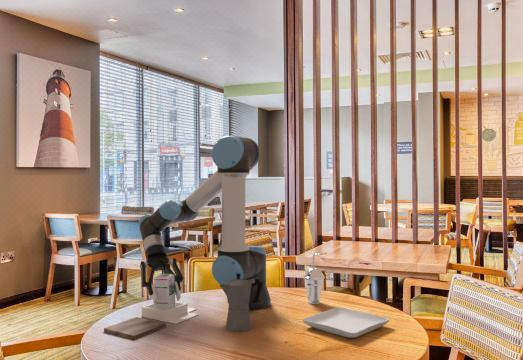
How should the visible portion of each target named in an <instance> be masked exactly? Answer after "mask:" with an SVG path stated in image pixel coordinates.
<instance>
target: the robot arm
mask: <svg viewBox="0 0 523 360" xmlns="http://www.w3.org/2000/svg"><path fill="white" fill-rule="evenodd" d="M260 157H261V149H260V146H259V145H258V143H257V142H256V141H255V140H253V139H251V138H250V137H249V138H248V137H242V136H237V135H225V136H222V137H221V138H218V140H217V141H216V142H215V143H214V145H213V146H212V149H211V159H212V162H213V163H214V165H215V166H216V167H217V170H215V172H214V173H213V174H211V176H210V177H208V178H207V179H206V180H205V181H204V182H203V183H202V184H201V185H199V186H198V187H197V188H196V189H195V190H194V191H193V192H192V193H190V194H189V195H188V196H187V197H186V198H185V199H184V200H183V201H182V202H181V203H178V202H177V201H175V200H172V199H167V200H166V201H164V202H163V203H162V204H160V206H159V207H157V209H156V210H155V212H153V213H146V214H145V215H142V216H141V217H140V218H139V220H138V225H139V226H138V227H139V231H140V236H141V239H142V243H143V248H144V252H145V253H144V254H145V256H146V261H145V260H144V261H143V260H141V261H140V263H139V268H140V270H141V272H140V273H141V287H142V288H146V290H147V292H148V295H149V296H151V297H152V298H151V299H152V301H153V303H154V304H156V302H157V296H156V292H155V287H154V283H152V282H153V280H154V276H155V272H158V271H163V272H164V273H165V274H174V279H175V299H176V302H180V300H181V297H182V296H181V290H182V287H181V284H182V283H183V280H184V276H183V274H182V272H181V270H180V268H179V265H178V263H177V258H175V257H174V258H173V259H171V258H169V257H168V254H167V252H166V247H165V243H164V240H163V237H162V232H163V231H164V230H166V228H167V227H168V226H170V225H172V224H176V223H182V222H191V221H194V220H195V219H196V218H197V217H198V216H199V212H200V211H201V210H203V209H204V208H205V207H206V206H207V205H208V204H209V203H211V202H212V201H213V200H214V199H215V198H217V196H218V195H220V194H221V244H220V245H219V247H217V257H216V258H215V259H214V260H213V262H212V265H211V274H212V276H213V278H214V280H215V282H217V283H218V285H219V286H220V285H221V284H223V283H225V282H226V281H230V280H234V279H237V277H236V274H238V273H239V274H241V275H240V279H244V280H249V279H257V278H258V279H259V280H260V281H261V282H262V283H263V286H262V289H261V293H260V296H259V300H258V302H257V303H252V301H253V300H255V295H256V292H257V287H258V284H255V285H251V292H250V300H249V311H253V310H254V311H255V310H262V309H265V308H269V307H270V306H271V304H272V299H271V295H270V292H269V289H268V287H267V254H266V248H265V247H264V246H260V245H259V246H258V245H247V244H246V178H247V177H248V176H249V175H250V171H251V170H253V168H254V167H255V166H257V164H258V162H259V161H260ZM169 264H170V265H169ZM147 266H148V267H150V269H151V271H150V275H149V277H148V281H147ZM170 267H171V268H172V269H171V268H170Z"/></svg>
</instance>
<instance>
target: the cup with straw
mask: <svg viewBox="0 0 523 360" xmlns="http://www.w3.org/2000/svg"><path fill="white" fill-rule="evenodd" d="M327 254H328V253H327V252H321V253H314V254H312V267H309V268H308V269H307V270H306V271H305V273H304V275H303V277H302V279H303V280H304V281H305V285H306V293H307V300H308V304H311V305H318V304H320V303H321V298H322V297H321V296H322V295H321V294H322V288H323V287H322V286H323V282H324V279H325V278H326V277H325V275H324V274H323V272H322V270H321V269H320V268H318V267H315V257H316V256H317V257H318V256H324V255H327Z"/></svg>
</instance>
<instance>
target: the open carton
mask: <svg viewBox="0 0 523 360" xmlns="http://www.w3.org/2000/svg"><path fill="white" fill-rule="evenodd" d="M195 311H197V308H194V307H189V305H188V303H185V302H180V301H175V307H174V308H172V309H169V310H166V311H164V310H159V309H155V304H154V302H153V303H150V304H147V305H143V306H141V318H145V319H150V320H151V319H152V320H154V321H159V322H164V323H170V324H175V325H177V324H180V323H182V322H185V321H187V320H190V319H193V318H194V317H197V316H199V313H192V312H195Z"/></svg>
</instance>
